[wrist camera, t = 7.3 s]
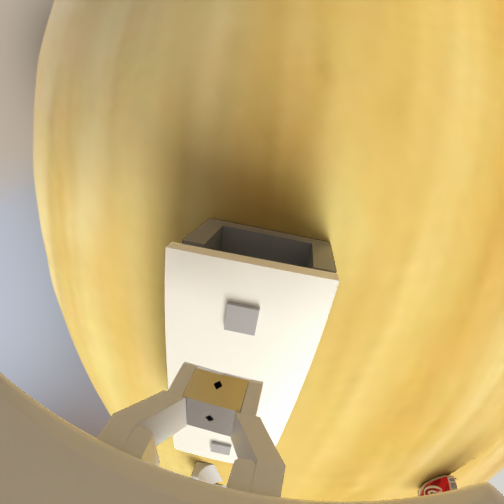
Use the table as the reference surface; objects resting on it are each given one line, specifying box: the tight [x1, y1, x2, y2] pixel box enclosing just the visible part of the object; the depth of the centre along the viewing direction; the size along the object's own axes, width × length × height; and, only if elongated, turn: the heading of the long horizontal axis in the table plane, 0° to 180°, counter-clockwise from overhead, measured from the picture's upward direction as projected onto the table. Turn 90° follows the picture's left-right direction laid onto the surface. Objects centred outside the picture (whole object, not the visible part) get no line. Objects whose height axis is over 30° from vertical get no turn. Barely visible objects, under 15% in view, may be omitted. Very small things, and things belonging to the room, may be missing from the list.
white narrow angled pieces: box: [191, 462, 226, 487], centre depth 32 cm, size 15×13×5 cm
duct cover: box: [165, 242, 339, 464], centre depth 17 cm, size 20×8×1 cm, turn 171°
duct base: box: [182, 218, 337, 273], centre depth 20 cm, size 20×8×4 cm, turn 172°
